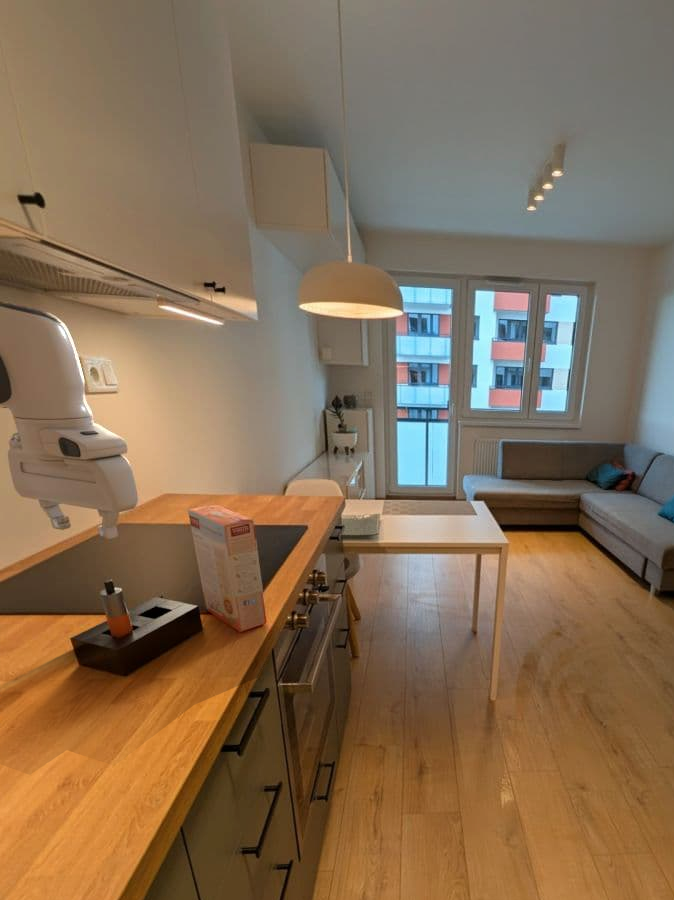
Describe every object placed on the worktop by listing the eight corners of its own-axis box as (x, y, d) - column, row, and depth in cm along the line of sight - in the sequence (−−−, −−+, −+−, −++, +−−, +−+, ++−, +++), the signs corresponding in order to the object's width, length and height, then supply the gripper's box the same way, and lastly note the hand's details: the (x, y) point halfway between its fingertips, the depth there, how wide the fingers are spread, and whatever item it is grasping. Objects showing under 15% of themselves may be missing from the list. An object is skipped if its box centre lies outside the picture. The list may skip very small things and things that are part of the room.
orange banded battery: (113, 658, 85) (91, 582, 79) (129, 649, 88) (109, 575, 82) (127, 661, 84) (106, 586, 78) (143, 652, 87) (124, 578, 81)
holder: (78, 664, 83) (69, 638, 81) (161, 620, 97) (155, 596, 95) (125, 677, 80) (117, 650, 78) (203, 629, 95) (198, 605, 93)
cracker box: (269, 623, 98) (255, 518, 89) (239, 634, 94) (221, 525, 85) (233, 601, 106) (217, 502, 97) (205, 610, 102) (185, 508, 93)
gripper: (-18, 433, 71) (14, 528, 77) (93, 447, 65) (118, 549, 71) (29, 429, 76) (55, 518, 82) (135, 441, 71) (155, 536, 77)
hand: (85, 532), depth 77 cm, fingers open, 8 cm apart
